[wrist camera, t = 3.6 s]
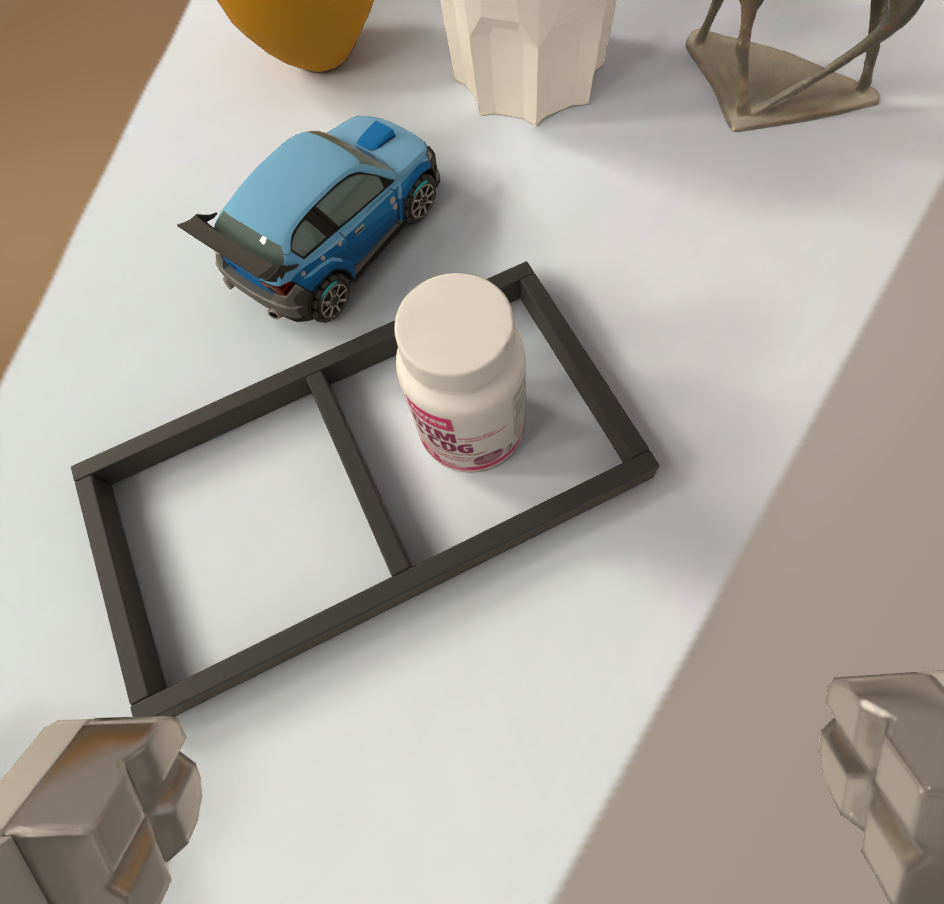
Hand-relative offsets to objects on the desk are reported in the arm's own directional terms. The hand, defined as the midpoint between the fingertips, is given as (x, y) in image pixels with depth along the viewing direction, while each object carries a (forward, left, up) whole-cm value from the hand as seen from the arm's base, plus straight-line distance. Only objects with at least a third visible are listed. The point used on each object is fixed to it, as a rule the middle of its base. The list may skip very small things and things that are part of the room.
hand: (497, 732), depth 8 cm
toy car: (+24, -2, -18) cm, 30 cm away
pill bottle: (+12, -4, -18) cm, 21 cm away
